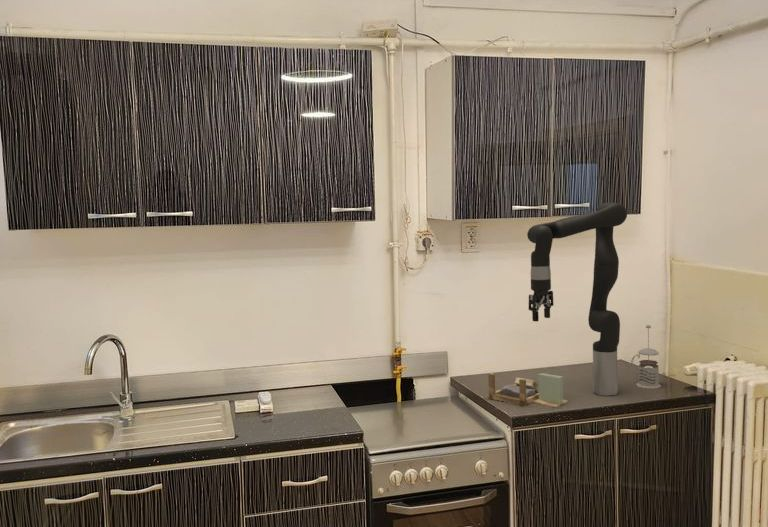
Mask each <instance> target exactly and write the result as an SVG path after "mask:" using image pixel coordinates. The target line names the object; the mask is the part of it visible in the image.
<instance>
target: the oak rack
mask: <svg viewBox="0 0 768 527" xmlns="http://www.w3.org/2000/svg"><path fill="white" fill-rule="evenodd" d="M487 376H488V399H489V398H490V399H489V400H492V399H494V400H493V401H497V400H499V401H498V402H501V401H504V402H503V403H506V402H508V404H511V403H513V404H512V405H516V404H518V405H517V406H520V405H522V406H521V407H526V406H527V404H528V405H530V404H533V401H535V400H537V399H539V392H538V393H536V394H535V395H533V396H530V397H528V398H526V379H527V378H524V379H520V380H519V389H520V398H517V397H512V396H507V395H502V388H501V389H497V390H496V374H495V373H493V372H490V373H488V374H487ZM513 385H516V384H515V383H513ZM516 386H517V385H516ZM525 405H526V406H525Z"/></svg>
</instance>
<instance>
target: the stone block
mask: <svg viewBox="0 0 768 527" xmlns="http://www.w3.org/2000/svg"><path fill="white" fill-rule="evenodd" d="M513 384H514V383H513ZM513 384H506V385H505V386H503V387H502V388H501V389H502V395H507V396H512V397H517V398H520V389H519V386H516V385H513ZM535 394H537V393H536V392H535V389H531V388H526V398H528V397H530V396H533V395H535Z"/></svg>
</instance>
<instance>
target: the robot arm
mask: <svg viewBox="0 0 768 527" xmlns="http://www.w3.org/2000/svg"><path fill="white" fill-rule="evenodd" d="M627 217H628V211H627V209H626V207H625V206H624V205H623V204H621V203H619V202H603V203H601V204H599V205H598V206H597V207H596V210H595V211H594V212H590V213H585V214H580V215H573V216H567V217H565V218H560V219H557V220H554V221H552V222H551V221H550V222H544V223H539V224H534V225H532V226H531V227H530V228H529V229H528V231H527V234H526V235H527V239H528V241H530V242H531V243H533V244H535V245H534V250H533V251H532V252H531V254H530V290H531V291H533V294H528V311H531V313H532V322H535V323H536V322H539V310H540V308H541V307H544V308H543V316H544V319H550V318H551V308H552V307H553V306H554V290H551V289H552V280H551V279H552V274H551V260H550V258H551V256H550V254H551V250H552V246H553V240H555V239H563V238H567V237H570V236H573V235H577V234H581V233H583V232H586V231H590V230H594V229H595V243H594V244H595V245H594V246H595V247H594V248H595V250H594V260H593V281H592V291H591V292H592V294H591V301H590V306H589V311H588V326H589V327H590V330H592V331H593V332H597V333H600V335H599V336H600V337H599V340H596V341H594V342H593V344H592V378H593V379H592V392H593V394H596V395H599V396H617V395H618V391H619V389H618V386H619V385H618V384H619V383H618V382H619V381H618V380H619V379H618V378H619V377H618V373H619V372H618V346H619V344H620V336H621V334H620V333H621V332H620V331H621V320H620V317H619V314H618V313H616V311H614V310H608V309H607V306H608V298H609V295H610V292H611V291H612V289H613V287H614V286H615V284H616V282H617V280H618V277H619V276H618V275H619V264H620V261H619V256H618V252H617V249H616V247H615V246H616V245H615V243H614V227H618V226H621V225H623V223H625V221H626V219H627ZM542 305H543V306H542Z"/></svg>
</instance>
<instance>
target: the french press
mask: <svg viewBox="0 0 768 527" xmlns="http://www.w3.org/2000/svg"><path fill="white" fill-rule="evenodd" d="M645 328H646V329H647V347H646V348H641V349H639V350H638V351H637V353H638V354H636V355H634V356H633V357H632V358H631V360H630V364H631V365H630V366H631V368H632V370H633V371H634V372H636V373H637V382H636V383H635V386H636V385H637V386H636V387H639V388H641V387H642V389H650V388H651V389H658V388H662V385H661V384H660V383H659V379H660V378H659V377H660V376H659V374H660V372H659V371H660V370H659V368H660V367H659V365H658V363H659V362H658V361H657V360H654V359H650V356H658V355H659V354H660V352H659V351H657V350H656V349H653V348H650V346H649V344H650V343H649V342H650V341H649V336H650V335H649V332H650V331H649V329H651V325H649V324H647V325H645ZM641 355H643V356H647V359H641V360H639V361H638V362H639V365H638V368H635V365H634V364H633V361H634V359H635V357H637V358H638V359H640V356H641Z"/></svg>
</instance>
